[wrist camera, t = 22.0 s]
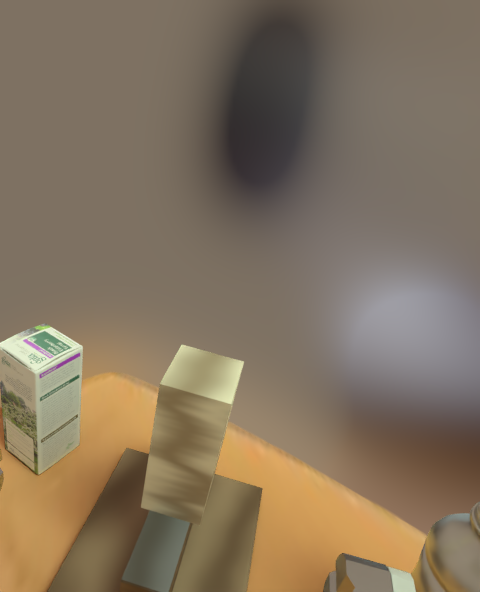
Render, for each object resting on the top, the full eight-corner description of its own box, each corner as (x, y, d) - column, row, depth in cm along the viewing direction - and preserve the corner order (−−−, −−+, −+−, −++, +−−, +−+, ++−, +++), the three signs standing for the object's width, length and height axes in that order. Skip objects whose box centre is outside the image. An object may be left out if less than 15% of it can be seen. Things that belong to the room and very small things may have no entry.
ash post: (214, 475, 39) (243, 361, 33) (199, 525, 34) (231, 404, 28) (161, 460, 39) (181, 344, 33) (140, 507, 34) (160, 383, 28)
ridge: (259, 497, 48) (278, 440, 44) (227, 698, 32) (253, 639, 28) (125, 456, 49) (132, 397, 45) (30, 632, 33) (27, 566, 29)
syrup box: (81, 445, 49) (86, 343, 43) (36, 479, 44) (35, 369, 38) (48, 420, 51) (48, 319, 45) (1, 450, 47) (-6, 342, 40)
